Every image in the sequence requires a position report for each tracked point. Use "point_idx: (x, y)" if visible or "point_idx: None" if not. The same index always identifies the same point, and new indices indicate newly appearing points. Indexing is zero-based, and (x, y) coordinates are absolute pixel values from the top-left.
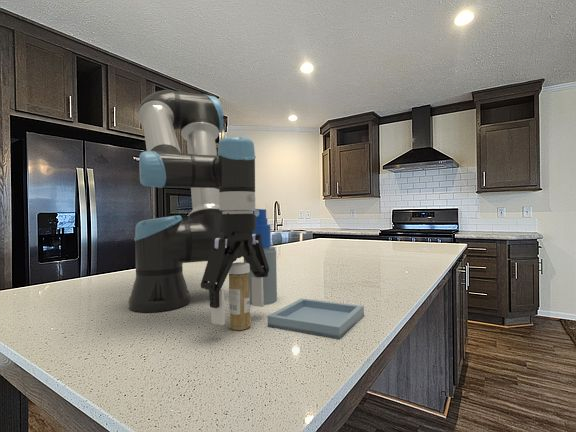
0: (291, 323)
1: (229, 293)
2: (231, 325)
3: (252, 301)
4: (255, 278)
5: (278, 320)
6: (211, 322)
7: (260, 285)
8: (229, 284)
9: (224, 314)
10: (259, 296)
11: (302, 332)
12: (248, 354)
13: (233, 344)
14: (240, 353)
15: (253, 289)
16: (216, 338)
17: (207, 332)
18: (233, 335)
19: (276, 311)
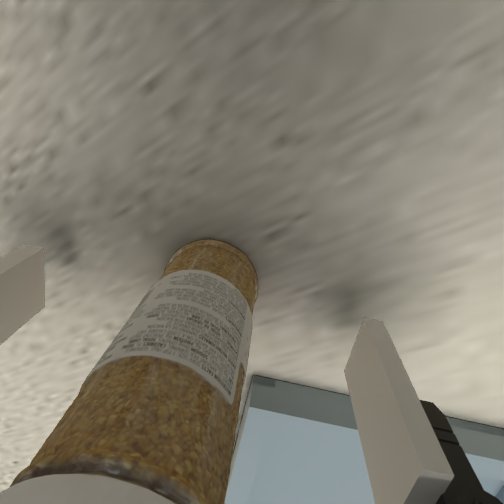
0: (230, 473)
1: (106, 350)
2: (168, 266)
3: (367, 334)
4: (402, 491)
5: (240, 436)
6: (23, 245)
7: (372, 471)
8: (80, 397)
9: (14, 330)
10: (359, 400)
11: None
12: (11, 387)
13: (49, 323)
14: (5, 366)
15: (383, 396)
16: (67, 244)
17: (105, 172)
18: (120, 291)
19: (323, 423)
